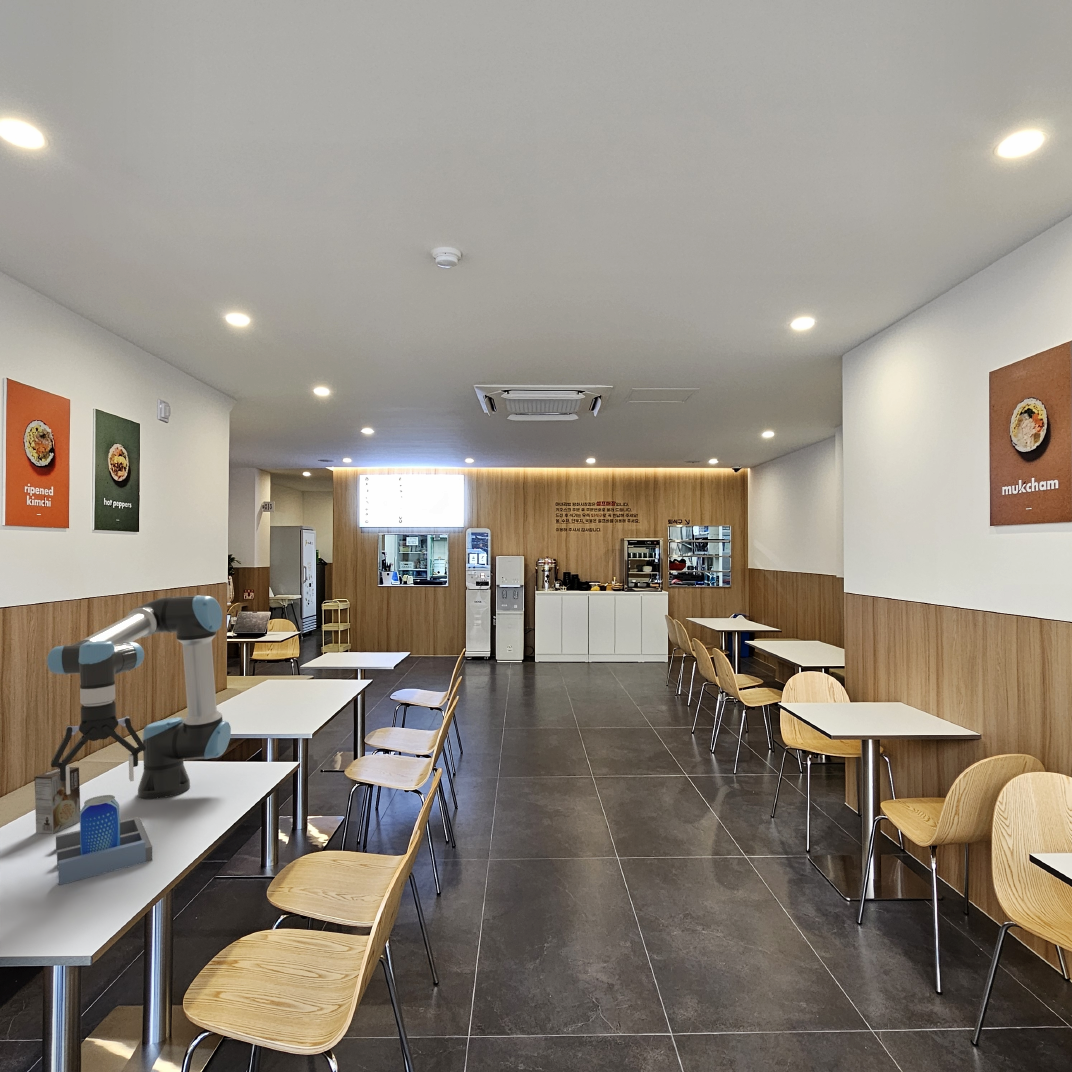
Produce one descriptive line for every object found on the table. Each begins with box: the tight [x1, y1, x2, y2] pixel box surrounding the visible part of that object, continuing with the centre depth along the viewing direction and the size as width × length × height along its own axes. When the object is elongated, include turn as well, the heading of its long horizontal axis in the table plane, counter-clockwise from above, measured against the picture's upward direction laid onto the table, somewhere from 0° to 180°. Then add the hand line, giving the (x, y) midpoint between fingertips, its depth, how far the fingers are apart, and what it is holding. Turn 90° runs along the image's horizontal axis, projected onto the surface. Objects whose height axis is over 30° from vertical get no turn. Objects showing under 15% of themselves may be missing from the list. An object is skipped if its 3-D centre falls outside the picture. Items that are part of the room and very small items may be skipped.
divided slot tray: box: [55, 816, 153, 886], centre depth 177 cm, size 20×26×5 cm
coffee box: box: [34, 766, 81, 834], centre depth 197 cm, size 9×6×16 cm
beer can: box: [79, 794, 121, 855], centre depth 172 cm, size 8×8×16 cm
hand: (100, 786), depth 172 cm, fingers open, 13 cm apart
